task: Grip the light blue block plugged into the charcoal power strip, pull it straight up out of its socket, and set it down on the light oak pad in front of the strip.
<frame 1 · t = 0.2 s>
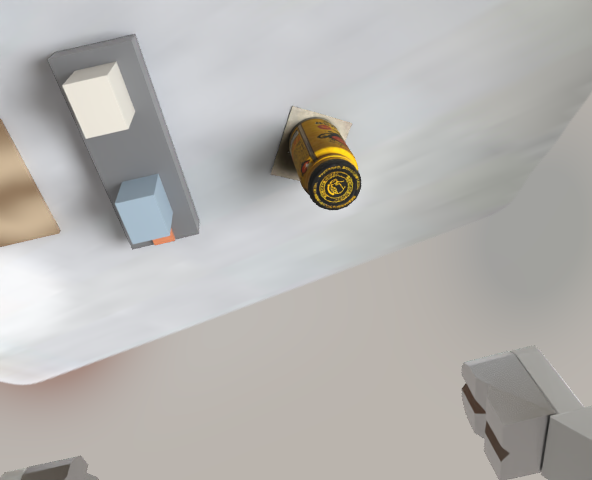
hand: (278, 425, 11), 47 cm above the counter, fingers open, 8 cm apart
condiment: (310, 147, 59), on the counter
power strip: (135, 146, 55), on the counter
light blue block: (149, 189, 57), point 1 cm above the counter, touching power strip
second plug: (109, 86, 51), point 1 cm above the counter, touching power strip
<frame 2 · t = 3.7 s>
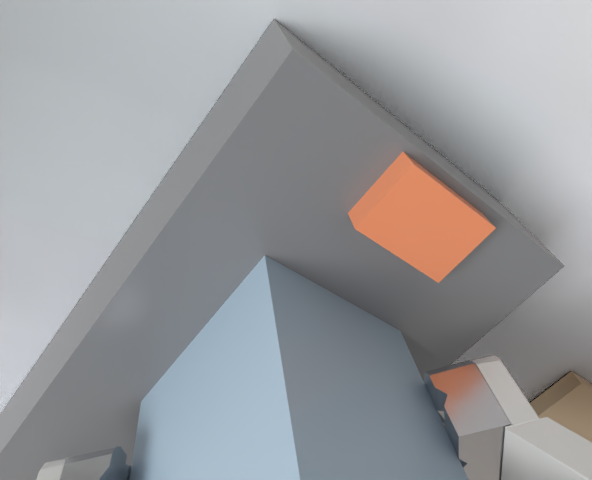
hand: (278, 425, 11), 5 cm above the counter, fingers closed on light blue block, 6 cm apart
power strip: (169, 393, 16), on the counter
light blue block: (263, 311, 14), point 1 cm above the counter, touching gripper, power strip
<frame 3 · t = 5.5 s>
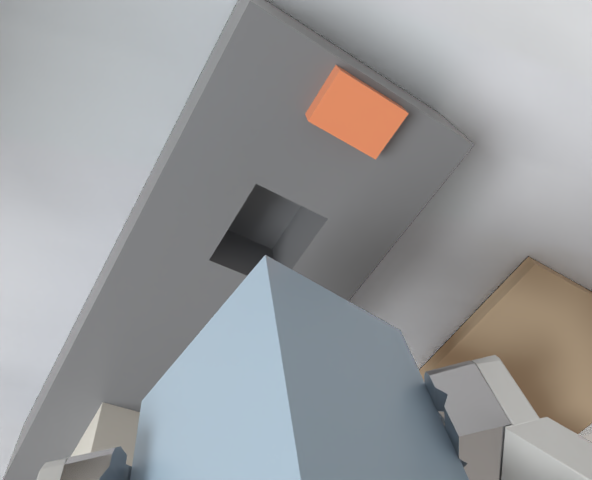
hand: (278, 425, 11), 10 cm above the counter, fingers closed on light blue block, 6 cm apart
power strip: (202, 290, 21), on the counter
light blue block: (263, 311, 14), point 7 cm above the counter, touching gripper
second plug: (134, 412, 23), point 1 cm above the counter, touching power strip
oak pad: (511, 391, 28), on the counter
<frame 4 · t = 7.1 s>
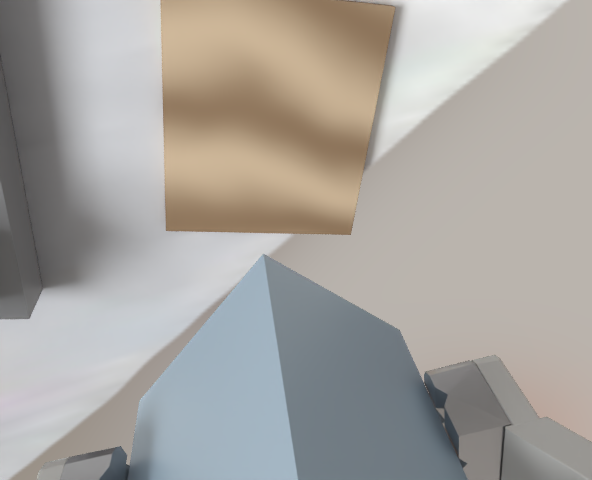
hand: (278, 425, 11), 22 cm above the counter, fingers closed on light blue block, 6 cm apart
light blue block: (262, 310, 14), point 18 cm above the counter, touching gripper
oak pad: (269, 125, 29), on the counter
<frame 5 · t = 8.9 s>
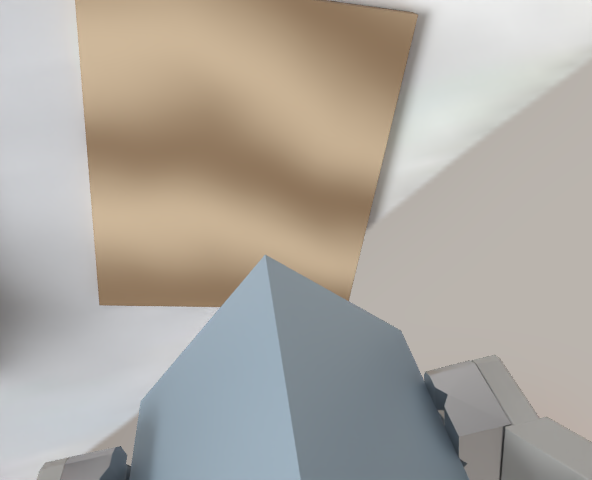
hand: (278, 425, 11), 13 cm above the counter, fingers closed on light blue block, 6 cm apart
light blue block: (263, 311, 14), point 9 cm above the counter, touching gripper
oak pad: (239, 170, 22), on the counter
when the fingers open (7 cm above the counter, at t = 10.6 s): light blue block drops 2 cm, resting on oak pad.
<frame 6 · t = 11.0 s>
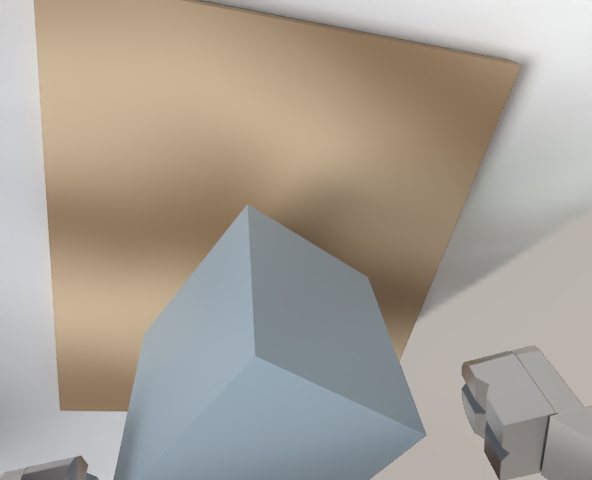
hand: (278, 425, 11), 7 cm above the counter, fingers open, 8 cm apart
light blue block: (252, 263, 16), point 1 cm above the counter, touching oak pad
oak pad: (256, 251, 16), on the counter
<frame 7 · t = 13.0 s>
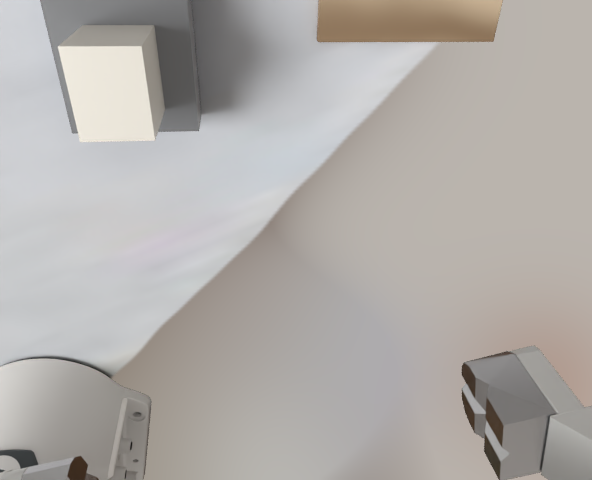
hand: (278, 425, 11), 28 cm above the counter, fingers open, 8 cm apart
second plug: (131, 60, 32), point 1 cm above the counter, touching power strip
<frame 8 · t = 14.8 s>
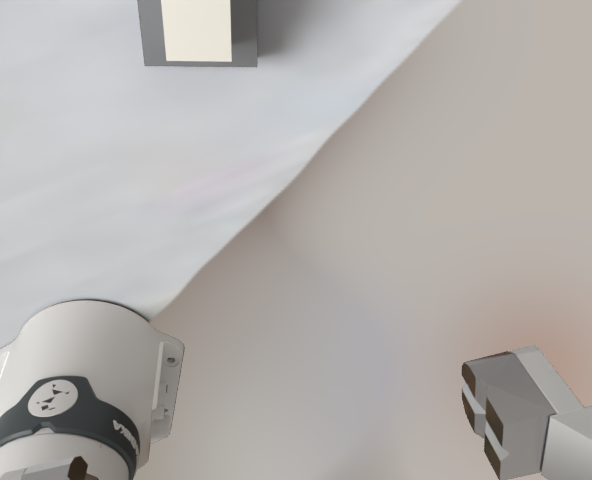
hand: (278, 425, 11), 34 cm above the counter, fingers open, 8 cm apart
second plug: (199, 2, 36), point 1 cm above the counter, touching power strip
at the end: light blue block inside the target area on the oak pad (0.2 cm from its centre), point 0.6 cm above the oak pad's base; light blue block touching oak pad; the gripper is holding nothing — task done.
